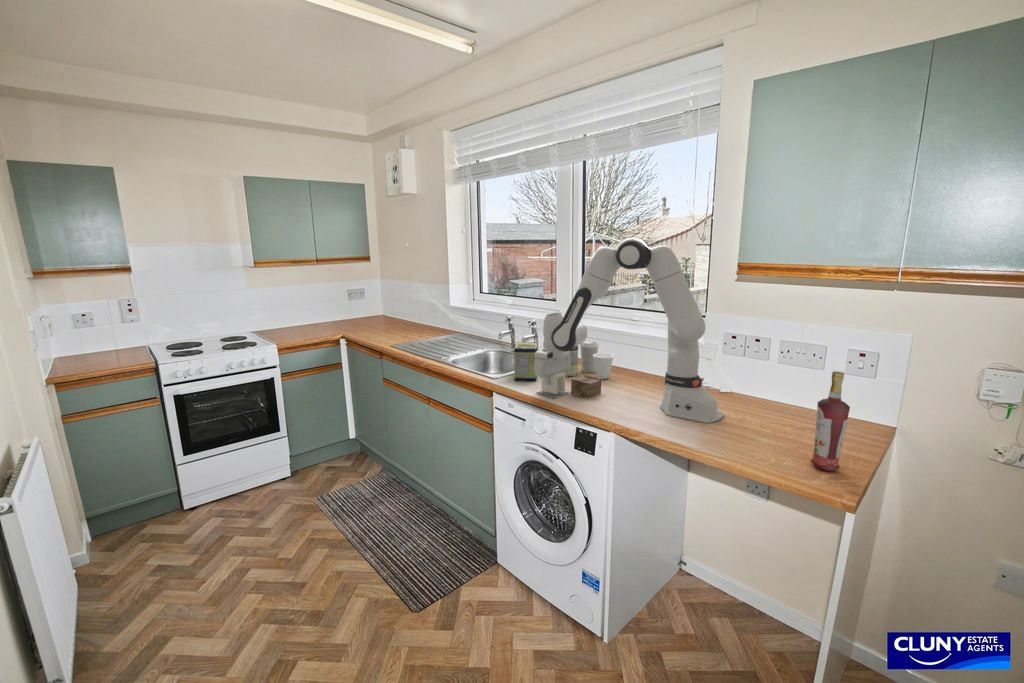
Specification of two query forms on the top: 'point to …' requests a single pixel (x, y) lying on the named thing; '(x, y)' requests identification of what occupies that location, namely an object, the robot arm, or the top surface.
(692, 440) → the top surface
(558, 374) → the cream square bin
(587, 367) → the coffee cup
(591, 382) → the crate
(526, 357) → the protein box
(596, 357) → the cup
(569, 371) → the coffee can
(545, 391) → the mat
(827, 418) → the liquor
